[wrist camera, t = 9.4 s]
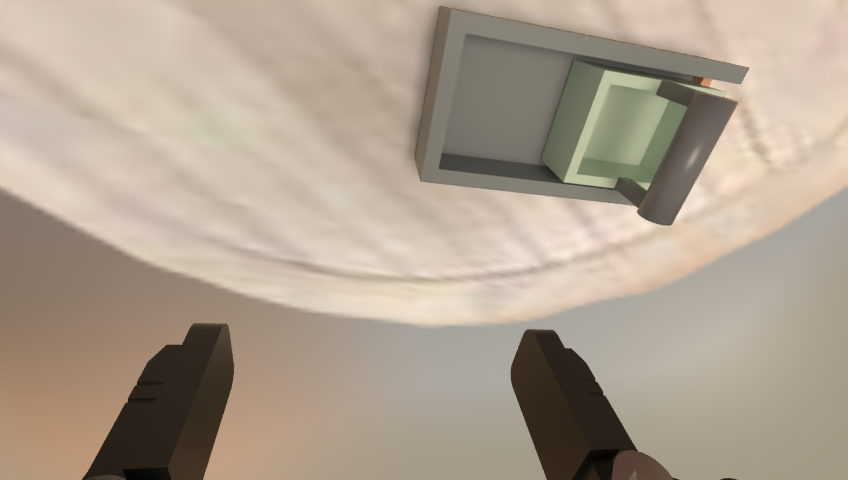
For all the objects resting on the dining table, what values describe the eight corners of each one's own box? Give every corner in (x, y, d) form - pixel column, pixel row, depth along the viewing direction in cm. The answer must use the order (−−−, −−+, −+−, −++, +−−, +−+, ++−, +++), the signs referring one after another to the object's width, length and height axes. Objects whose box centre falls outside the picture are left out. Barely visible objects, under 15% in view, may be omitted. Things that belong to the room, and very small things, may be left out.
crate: (574, 59, 32) (657, 88, 23) (682, 79, 34) (799, 113, 25) (541, 159, 37) (599, 218, 27) (639, 172, 39) (725, 231, 29)
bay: (440, 5, 30) (451, 9, 26) (703, 57, 35) (749, 67, 31) (414, 158, 36) (420, 181, 32) (641, 186, 41) (673, 209, 37)
